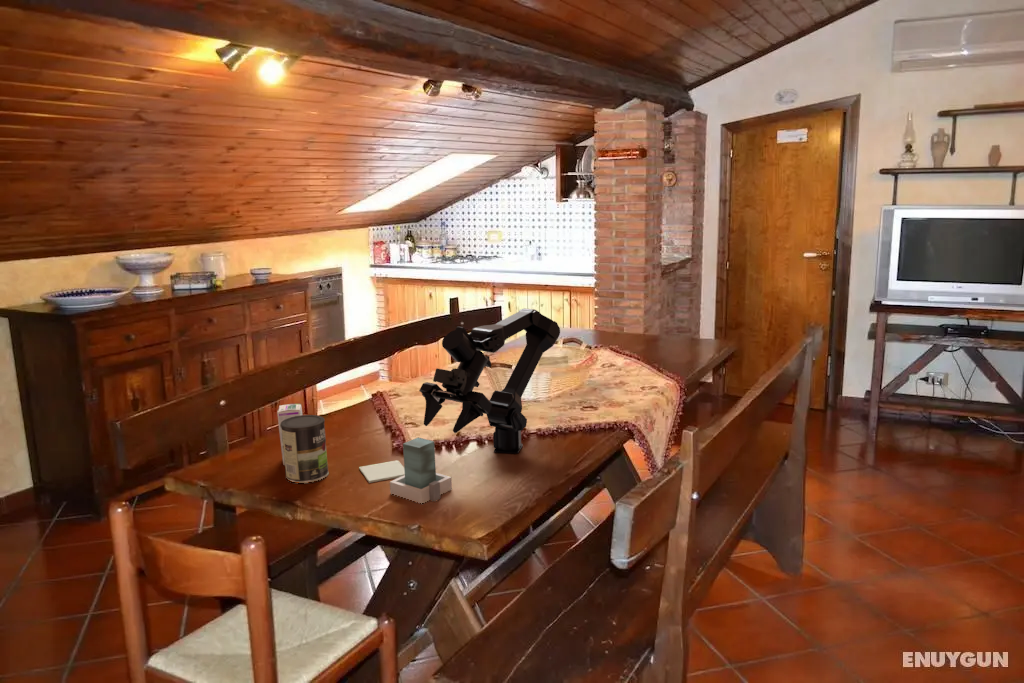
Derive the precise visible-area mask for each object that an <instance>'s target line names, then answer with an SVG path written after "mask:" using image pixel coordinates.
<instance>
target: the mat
mask: <svg viewBox="0 0 1024 683" xmlns="http://www.w3.org/2000/svg"><path fill="white" fill-rule="evenodd" d="M358 469H359V471H360V472H361V474H362V475H363V476H364V478H365V479H366V481H367V482H368V484H370V483H376V482H381V481H387V480H392V479H393V480H394V479H397V478H399V477H401V476H404V475H405V470H404V464H402V463H401V462H400V461H399V459H398V460H397V459H396V460H391V461H390V460H389V461H386V462H380V463H375V464H368V465H363V466H359V467H358Z"/></svg>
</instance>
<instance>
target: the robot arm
mask: <svg viewBox="0 0 1024 683" xmlns="http://www.w3.org/2000/svg"><path fill="white" fill-rule="evenodd" d="M522 331H525V342H526V345H525V347H524V349H523V350H522V352H521V355H520V357H519V359H518V361H517V363H516V364H515V367H514V369H513V370H512V372H511V374H510V377H509V379H508V380H507V383H506V384H505V387H504V388H503V389H502V390H494V391H493V392H492V394H491V397H490V398H489V399H488V397H486V395H485V394H484V393H483V392H479V391H474V388H479V386H480V383H479V379H480V377H481V375H482V373H483V370H484V368H491V367H492V361H491V360H490V356H489V355H485V354H484V352H486V353H491V354H492V353H493V354H494V353H496V352H498V351H500V349H501V348H502V347H503V346H505V342H506V341H507V340H508V339H509V338H511V337H512V336H515V335H517V334H518V333H520V332H522ZM560 335H561V329H560V326H559V324H558V322H557V321H555V320H553V319H551V318H549V317H547V316H545V315H544V314H542V313H541V312H540V311H538V310H537V309H534V308H533V309H532V308H521V309H519V310H518V311H517V312H516V313H513V314H512V315H510V316H508V317H505V318H504V319H502V320H500V321H498V322H497V323H494V324H488V325H485V324H484V325H480V326H477V327H473V328H472V329H471V331H470V332H469V333H468V332H467V330H466V329H465V327H463V326H456V327H455V329H453V330H451V331H450V332H448V333H446V335H444V337H443V338H442V342H441V345H442V348H443V349H444V350H445V351H446V352H447V354H448V355H449V356H451V357H452V359H453V360H454V361H455V362H458V363H459V364H458V365H457V367H456V368H452V369H451V370H448V369H442V368H437V367H436V369H435V372H434V375H433V376H434V377H433V379H432V381H433V382H432V383H431V382H428V381H426V382H423V383H422V384H421V387H420V388H419V390H418V391H419V392H420V393H421V395H422V397H424V399H425V411H424V417H423V418H424V419H423V426H425V427H427V426H428V425H429V424H431V422H432V421H433V420H434V419H435V417H436V416H437V415H438V413H440V411H441V409H442V408H443V405H442V404H443V403H445V401H446V400H448V401H453V402H457V403H462V404H461V405H462V408H461V411H460V413H459V415H458V417H457V419H456V422H455V423H454V426H453V429H452V432H453V433H454V434H456V433H458V432H460V431H461V430H462V429H464V428H465V427H466V426H467V425H469V424H470V423H471V422H473V421H474V420H477V419H478V418H480V417H484V415H486V417H487V421H488V424H489V427H494V431H493V433H492V434H493V435H492V439H493V448H494V449H493V450H494V452H493V453H498V454H499V453H503V454H519V452H520V451H521V449H522V448H523V446H524V444H523V443H522V431H524V429H525V428H526V427H527V423H528V418H527V417H526V416H524V414H523V413H522V410H523V404H522V396H523V394H524V392H525V390H526V389H527V386H528V384H529V382H530V381H531V379H532V376H533V374H534V373H535V370H536V369H537V366H538V364H539V362H540V360H541V359H542V356H543V354H544V353H545V352H547V351H548V350H549V349H551V348H552V347H554V345H555V343H556V342H557V340H558V339H559V337H560ZM437 383H440V384H441V387H442V388H443V389H445V390H443V389H442V388H441V387H440V386H439V385H438V384H437Z"/></svg>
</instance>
